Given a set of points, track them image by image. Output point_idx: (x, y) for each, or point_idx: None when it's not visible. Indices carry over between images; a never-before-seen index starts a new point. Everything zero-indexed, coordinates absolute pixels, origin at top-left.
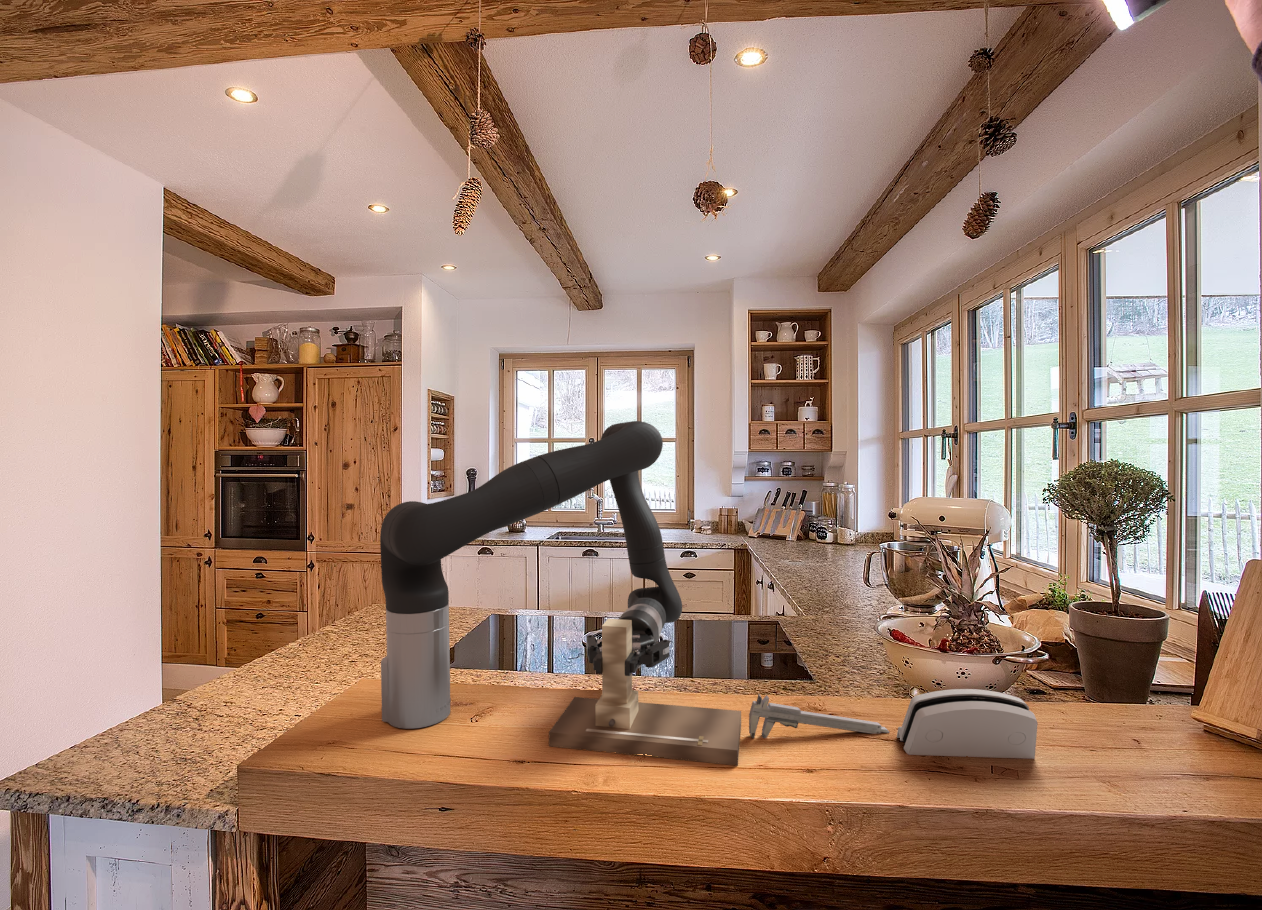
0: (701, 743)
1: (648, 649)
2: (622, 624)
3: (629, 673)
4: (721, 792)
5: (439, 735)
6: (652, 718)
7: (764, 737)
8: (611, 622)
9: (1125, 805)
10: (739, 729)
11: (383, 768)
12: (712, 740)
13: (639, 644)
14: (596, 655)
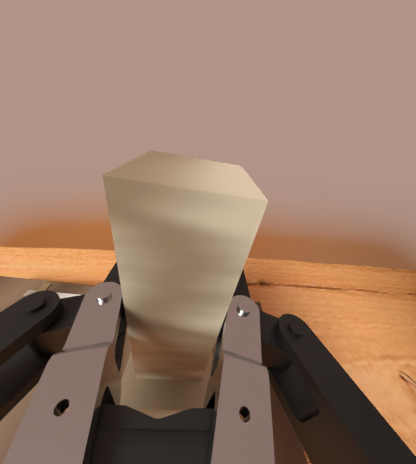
0: (42, 286)
1: (41, 298)
2: (166, 159)
3: None
4: (66, 250)
5: (384, 325)
6: None
7: None
8: (221, 173)
9: None
10: None
11: (348, 270)
12: (13, 298)
13: (62, 352)
14: (245, 281)
